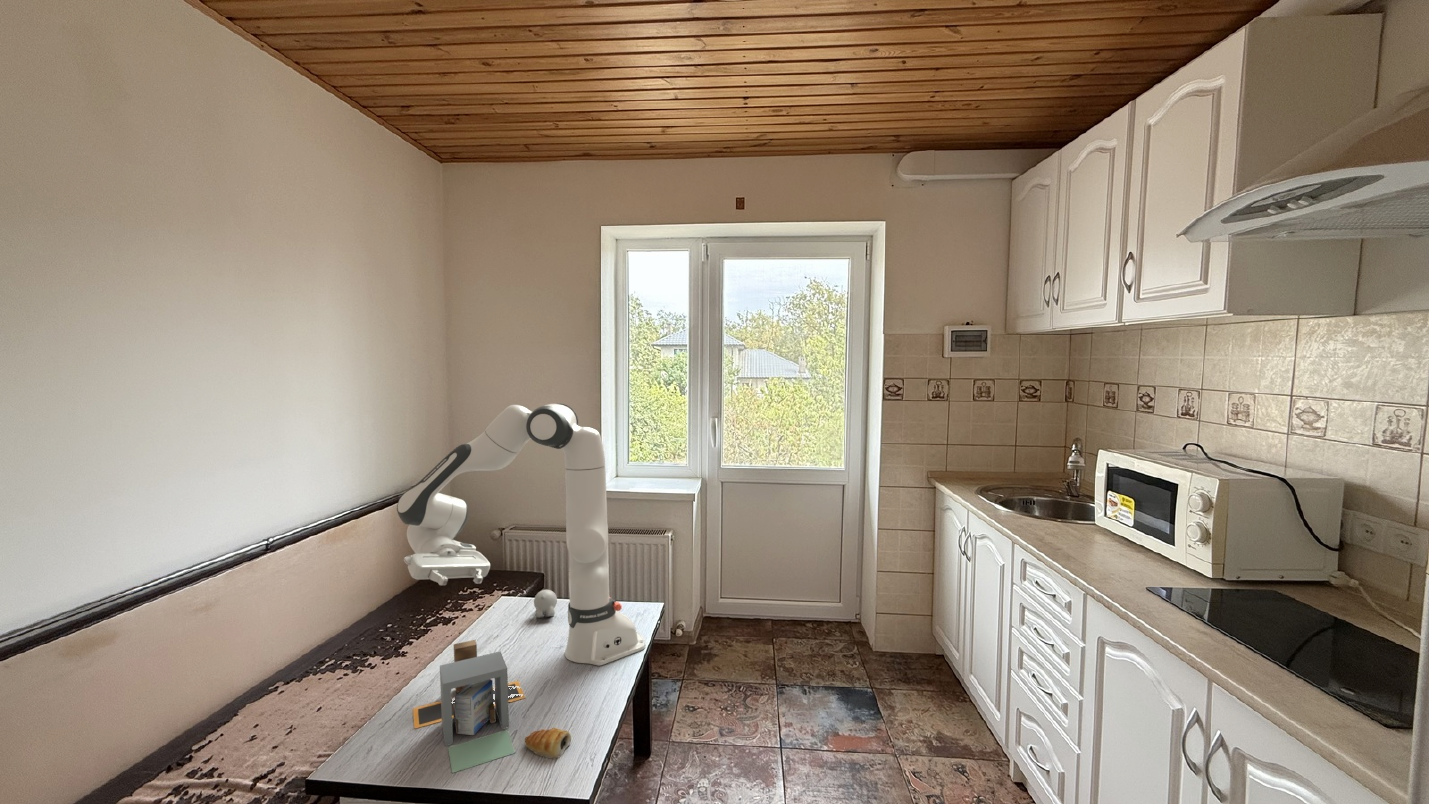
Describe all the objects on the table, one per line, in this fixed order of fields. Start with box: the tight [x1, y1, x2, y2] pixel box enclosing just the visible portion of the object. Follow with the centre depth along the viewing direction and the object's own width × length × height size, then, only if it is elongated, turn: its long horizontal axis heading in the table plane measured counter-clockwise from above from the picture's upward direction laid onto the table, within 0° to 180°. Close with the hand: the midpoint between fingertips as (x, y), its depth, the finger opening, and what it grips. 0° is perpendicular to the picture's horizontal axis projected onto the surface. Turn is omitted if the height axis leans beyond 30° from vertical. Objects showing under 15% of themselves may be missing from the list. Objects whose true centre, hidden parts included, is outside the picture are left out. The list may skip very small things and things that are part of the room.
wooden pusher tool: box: [453, 639, 496, 734], centre depth 136 cm, size 8×20×11 cm, turn 29°
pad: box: [447, 729, 516, 774], centre depth 121 cm, size 12×9×1 cm
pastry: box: [524, 727, 572, 759], centre depth 122 cm, size 9×7×4 cm
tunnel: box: [439, 651, 510, 747], centre depth 129 cm, size 13×9×14 cm
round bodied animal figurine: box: [533, 589, 558, 618], centre depth 189 cm, size 7×12×8 cm, turn 10°
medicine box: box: [454, 679, 494, 736], centre depth 129 cm, size 8×4×9 cm, turn 168°
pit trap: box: [412, 680, 526, 730], centre depth 138 cm, size 24×9×1 cm, turn 119°
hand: (462, 581), depth 146 cm, fingers open, 8 cm apart
